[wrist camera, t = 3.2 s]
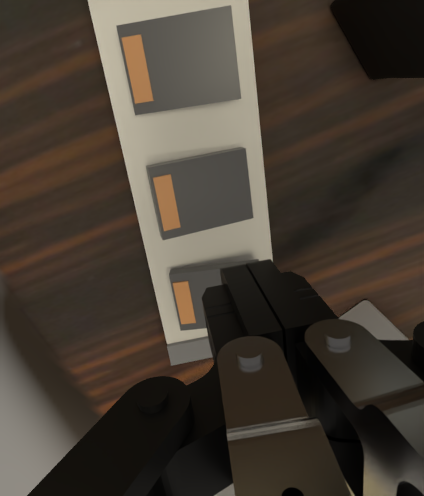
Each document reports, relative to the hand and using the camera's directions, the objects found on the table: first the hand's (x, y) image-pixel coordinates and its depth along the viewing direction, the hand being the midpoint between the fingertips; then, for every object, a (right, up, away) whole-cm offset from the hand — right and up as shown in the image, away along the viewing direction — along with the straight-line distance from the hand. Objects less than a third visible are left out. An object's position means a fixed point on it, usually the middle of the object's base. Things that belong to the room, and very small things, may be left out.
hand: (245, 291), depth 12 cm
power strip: (-2, +7, +20) cm, 21 cm away
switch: (-3, +13, +13) cm, 19 cm away
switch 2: (0, -2, +19) cm, 20 cm away
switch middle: (-2, +5, +16) cm, 17 cm away
